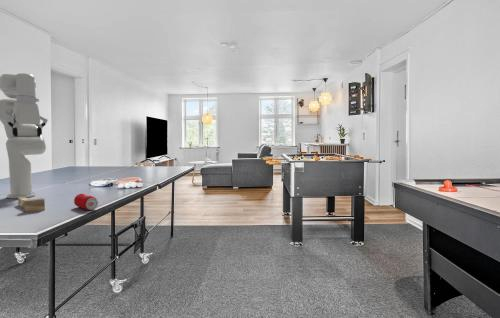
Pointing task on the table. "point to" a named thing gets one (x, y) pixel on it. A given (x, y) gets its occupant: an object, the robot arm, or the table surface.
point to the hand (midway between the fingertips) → (27, 136)
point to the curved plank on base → (31, 204)
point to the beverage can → (86, 201)
